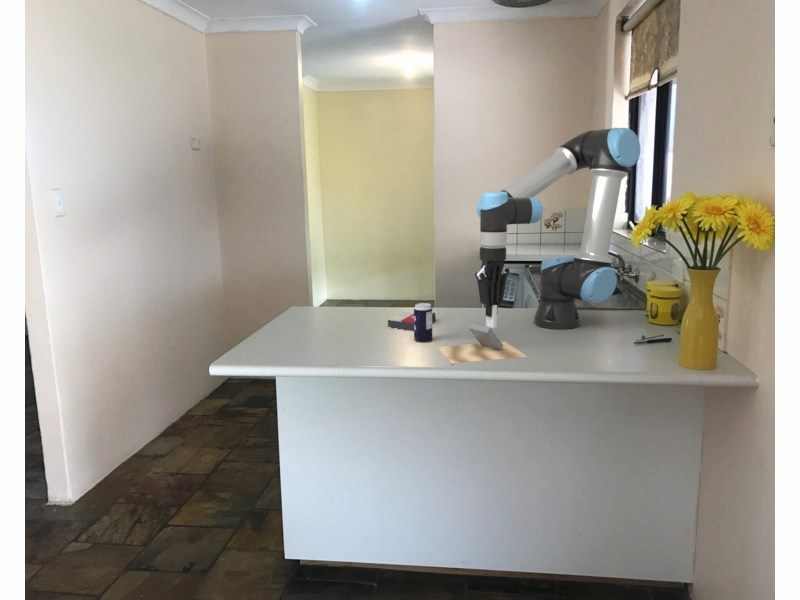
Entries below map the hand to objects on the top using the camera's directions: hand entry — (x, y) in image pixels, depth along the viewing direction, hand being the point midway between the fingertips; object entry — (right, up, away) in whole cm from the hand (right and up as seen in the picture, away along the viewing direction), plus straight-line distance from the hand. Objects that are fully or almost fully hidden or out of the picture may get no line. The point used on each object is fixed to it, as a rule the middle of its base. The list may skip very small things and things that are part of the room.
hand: (491, 326), depth 172 cm
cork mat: (-4, -8, -2) cm, 9 cm away
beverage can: (-20, -6, +11) cm, 23 cm away
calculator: (-23, -1, +33) cm, 40 cm away
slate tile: (+1, -6, +2) cm, 6 cm away
